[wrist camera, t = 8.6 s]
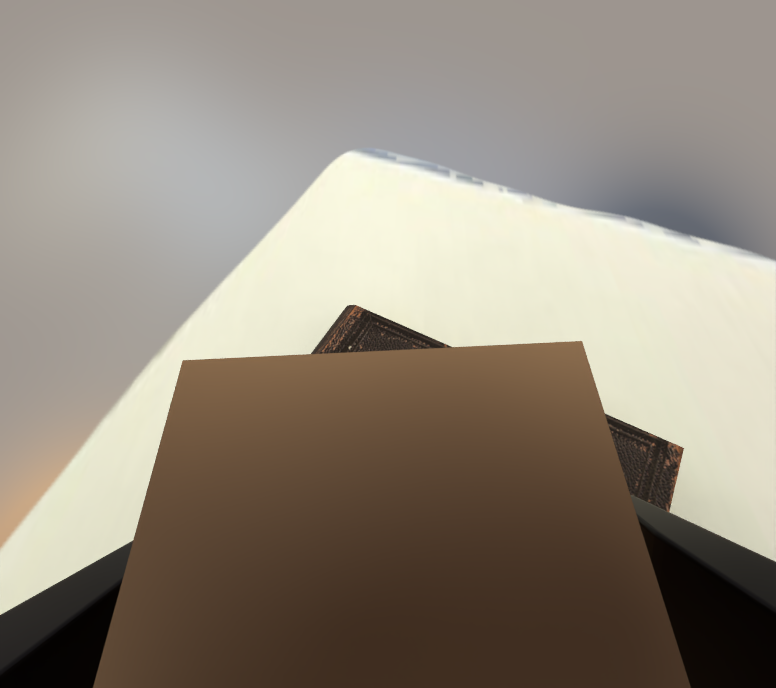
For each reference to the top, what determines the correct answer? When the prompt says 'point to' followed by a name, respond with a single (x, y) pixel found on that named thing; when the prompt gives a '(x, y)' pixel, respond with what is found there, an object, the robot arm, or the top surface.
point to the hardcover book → (634, 446)
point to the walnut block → (390, 530)
